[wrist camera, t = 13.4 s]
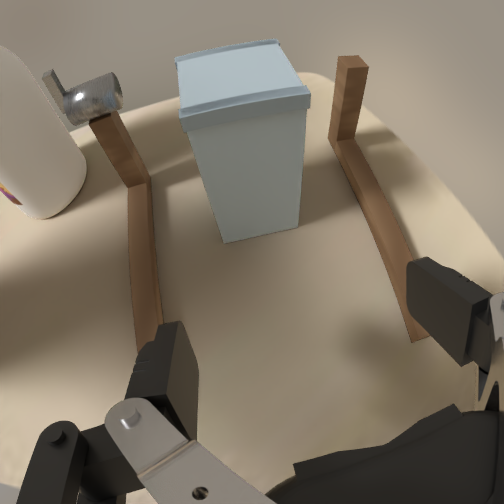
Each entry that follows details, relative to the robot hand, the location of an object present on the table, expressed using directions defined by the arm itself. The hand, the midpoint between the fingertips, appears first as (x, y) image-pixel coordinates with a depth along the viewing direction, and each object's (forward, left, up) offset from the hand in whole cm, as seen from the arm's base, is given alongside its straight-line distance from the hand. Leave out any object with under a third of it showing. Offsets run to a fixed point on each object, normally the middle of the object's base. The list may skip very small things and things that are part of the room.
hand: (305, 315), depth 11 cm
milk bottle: (-17, +18, -9) cm, 26 cm away
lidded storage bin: (0, +10, -8) cm, 13 cm away
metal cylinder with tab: (-8, +14, 0) cm, 17 cm away
